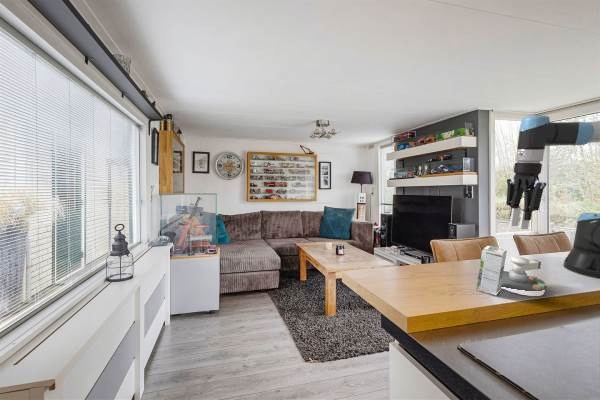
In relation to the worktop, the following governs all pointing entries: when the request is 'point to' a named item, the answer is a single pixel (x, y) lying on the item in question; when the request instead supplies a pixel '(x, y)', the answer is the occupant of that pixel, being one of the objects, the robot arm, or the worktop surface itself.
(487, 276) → the syrup box
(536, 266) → the peg
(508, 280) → the grey shoe
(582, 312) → the worktop surface
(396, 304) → the worktop surface
